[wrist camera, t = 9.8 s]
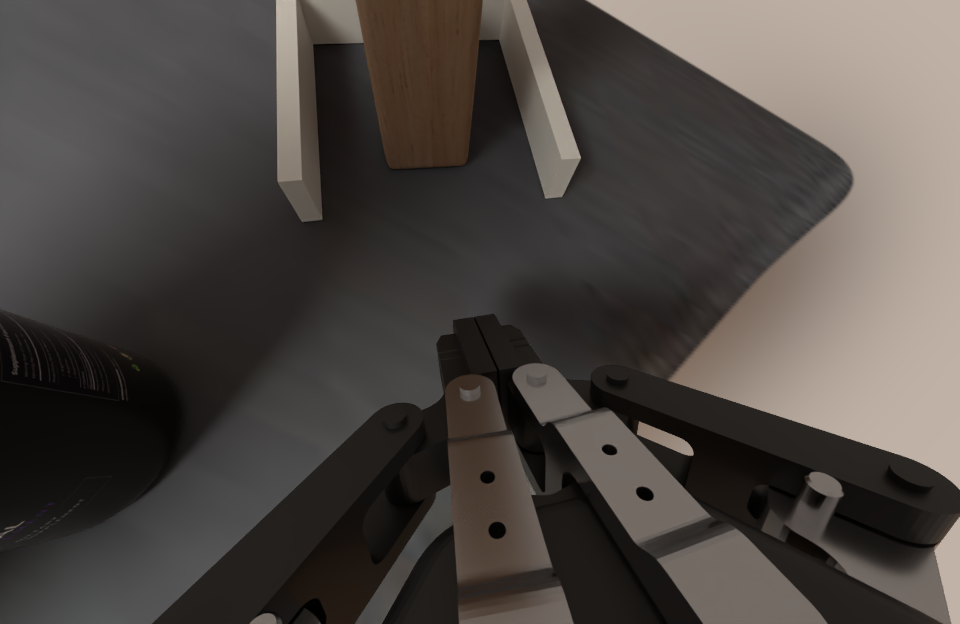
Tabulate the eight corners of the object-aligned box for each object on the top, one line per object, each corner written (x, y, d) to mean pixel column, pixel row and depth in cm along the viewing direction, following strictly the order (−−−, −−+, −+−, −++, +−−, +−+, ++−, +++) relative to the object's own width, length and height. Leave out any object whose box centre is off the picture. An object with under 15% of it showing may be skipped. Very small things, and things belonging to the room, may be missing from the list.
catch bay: (302, 221, 19) (277, 181, 16) (296, 33, 23) (276, -24, 20) (562, 197, 21) (581, 158, 18) (510, 29, 25) (518, -23, 23)
